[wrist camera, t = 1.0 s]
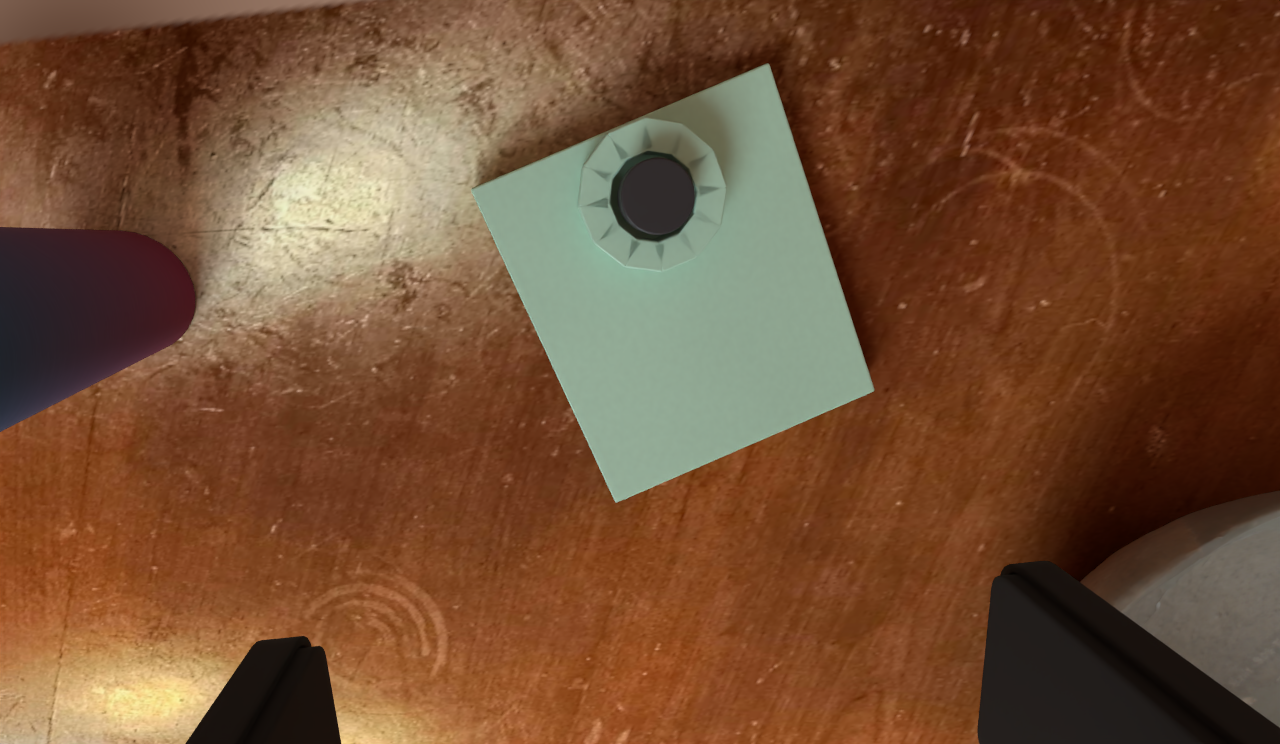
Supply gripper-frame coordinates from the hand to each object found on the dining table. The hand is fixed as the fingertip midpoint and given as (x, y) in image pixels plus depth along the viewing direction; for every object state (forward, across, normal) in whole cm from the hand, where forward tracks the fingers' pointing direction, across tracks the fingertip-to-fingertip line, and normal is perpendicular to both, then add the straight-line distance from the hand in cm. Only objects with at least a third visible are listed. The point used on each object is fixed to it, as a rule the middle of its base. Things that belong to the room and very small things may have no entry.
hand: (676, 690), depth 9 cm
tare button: (+19, -3, -7) cm, 21 cm away
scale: (+22, -4, -2) cm, 23 cm away
